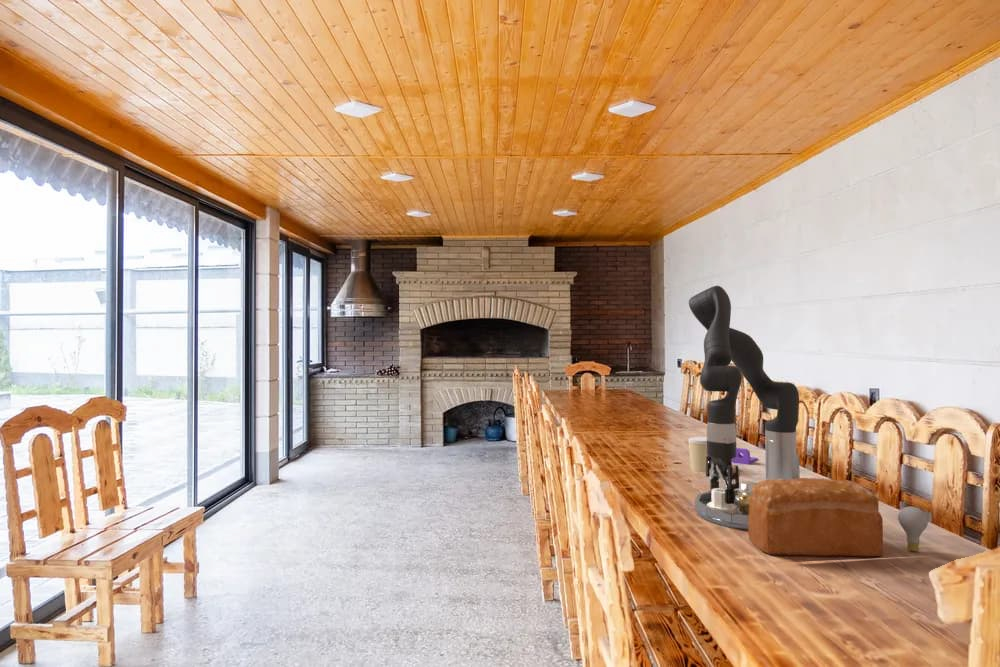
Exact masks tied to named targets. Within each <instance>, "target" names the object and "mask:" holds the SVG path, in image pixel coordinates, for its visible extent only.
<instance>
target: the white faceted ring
mask: <svg viewBox="0 0 1000 667" xmlns="http://www.w3.org/2000/svg"><path fill="white" fill-rule="evenodd" d="M707 506H708V507H710V508H713V509H716V510H720V511H724V512H728V513H731V514H735V513H737V506H736V505H734V504H727V503H725V487H724V488H722V487H719V488H714V489H712V490H711V502H709V503H708V504H707Z"/></svg>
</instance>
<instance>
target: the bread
mask: <svg viewBox="0 0 1000 667" xmlns="http://www.w3.org/2000/svg"><path fill="white" fill-rule="evenodd" d="M756 483H757V484H756V485H755V486H754V487H753V490H752V495H751V498H750V501H749V522H748V531H747V533H748V540H749V541H750V542H751V543H752V544H753V546H755V547H756V548H757V549H759V551H762V552H764V553H766V554H769V555H772V556H773V555H775V556H776V555H778V556H783V555H784V556H785V555H786V556H812V557H813V556H818V557H821V556H822V557H823V556H824V557H828V556H829V557H830V556H831V557H833V556H835V557H836V556H837V557H839V556H840V557H858V558H859V557H882V556H883V555H884V531H883V528H884V527H883V526H884V525H883V520H884V519H883V517H882V515H881V513H880V511H879V506H880V505H879V498H878V497H877V496H876V495H875V494H874V493H872V492H871V491H870V490H869V489H868V488H867V487H866V486H863V485H861V484H859V483H857V482H855V481H853V480H845V479H844V480H842V479H827V478H822V477H821V478H817V477H816V478H815V477H814V478H813V477H800V478H797V479H789V480H788V479H773V480H766V479H765V480H760V481H759V482H756Z"/></svg>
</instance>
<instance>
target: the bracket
mask: <svg viewBox="0 0 1000 667" xmlns="http://www.w3.org/2000/svg"><path fill="white" fill-rule="evenodd" d="M755 460H756V461H757V460H759V458H757V457H752V456H751V452H750V449H749V450H748V449H747V448H743V447H741V448H740V447H736V457H735V458H733V459H732V460H731V462H733V464H740V465H747V466H748V465H750V464H752V463H753V462H756V461H755Z"/></svg>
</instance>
